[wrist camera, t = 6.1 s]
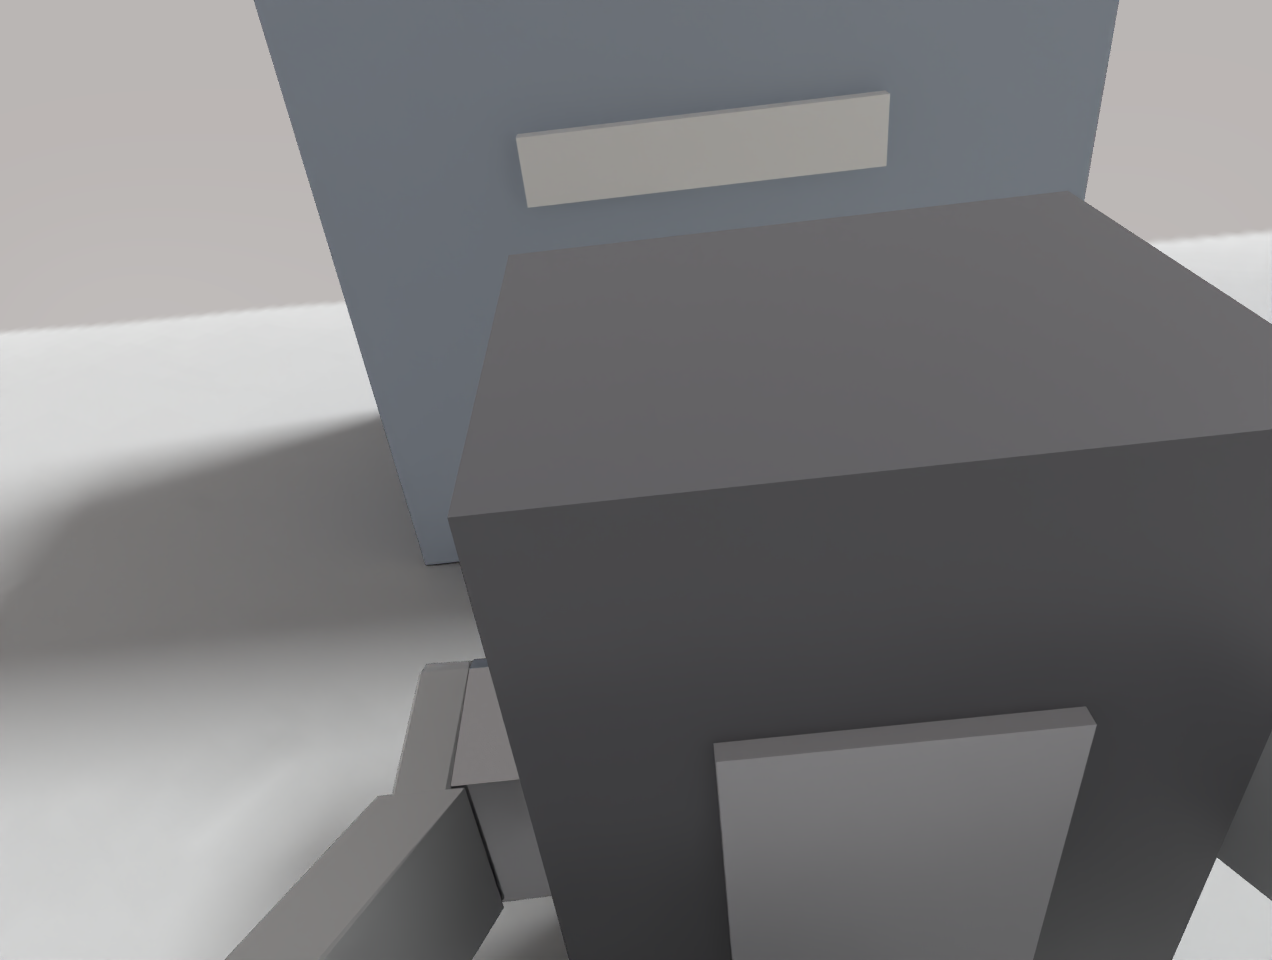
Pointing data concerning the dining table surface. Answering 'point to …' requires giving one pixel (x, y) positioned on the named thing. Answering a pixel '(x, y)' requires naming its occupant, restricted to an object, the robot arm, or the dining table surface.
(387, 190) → the socket
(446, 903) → the robot arm
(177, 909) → the dining table surface
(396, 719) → the dining table surface
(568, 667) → the plug
